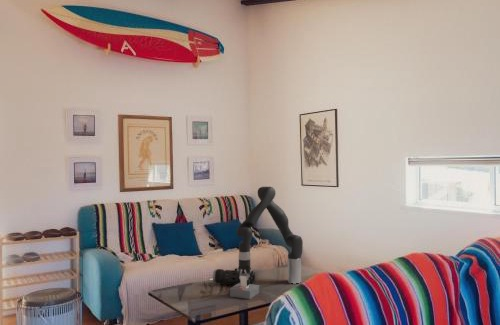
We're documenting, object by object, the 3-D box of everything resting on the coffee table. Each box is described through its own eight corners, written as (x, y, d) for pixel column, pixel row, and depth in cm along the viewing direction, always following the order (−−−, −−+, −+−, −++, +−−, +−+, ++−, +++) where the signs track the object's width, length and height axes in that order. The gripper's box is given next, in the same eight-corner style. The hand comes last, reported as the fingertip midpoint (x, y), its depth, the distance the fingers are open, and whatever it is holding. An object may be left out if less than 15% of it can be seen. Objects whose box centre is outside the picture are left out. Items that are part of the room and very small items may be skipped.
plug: (243, 288, 281) (243, 271, 281) (248, 289, 279) (248, 272, 279) (240, 290, 277) (240, 273, 277) (246, 291, 276) (246, 274, 275)
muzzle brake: (252, 288, 292) (252, 272, 292) (212, 285, 298) (212, 270, 298) (255, 284, 301) (255, 269, 301) (216, 282, 307) (216, 267, 307)
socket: (239, 290, 288) (239, 281, 288) (259, 292, 282) (259, 283, 282) (229, 296, 275) (229, 287, 275) (249, 299, 269) (249, 289, 269)
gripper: (257, 258, 278) (257, 284, 279) (237, 256, 284) (237, 282, 285) (252, 260, 272) (252, 288, 272) (232, 258, 278) (232, 285, 278)
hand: (244, 284), depth 278 cm, fingers closed on plug, 4 cm apart
